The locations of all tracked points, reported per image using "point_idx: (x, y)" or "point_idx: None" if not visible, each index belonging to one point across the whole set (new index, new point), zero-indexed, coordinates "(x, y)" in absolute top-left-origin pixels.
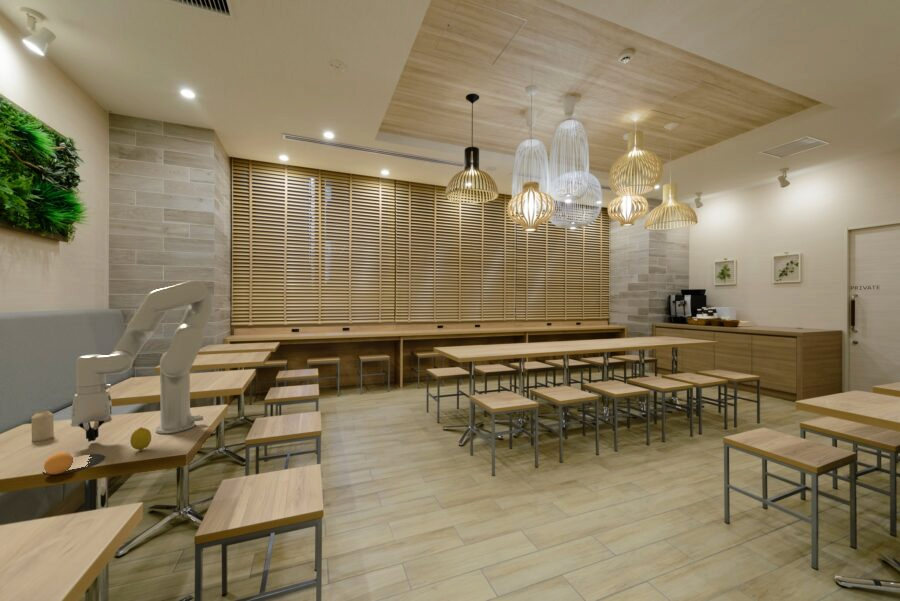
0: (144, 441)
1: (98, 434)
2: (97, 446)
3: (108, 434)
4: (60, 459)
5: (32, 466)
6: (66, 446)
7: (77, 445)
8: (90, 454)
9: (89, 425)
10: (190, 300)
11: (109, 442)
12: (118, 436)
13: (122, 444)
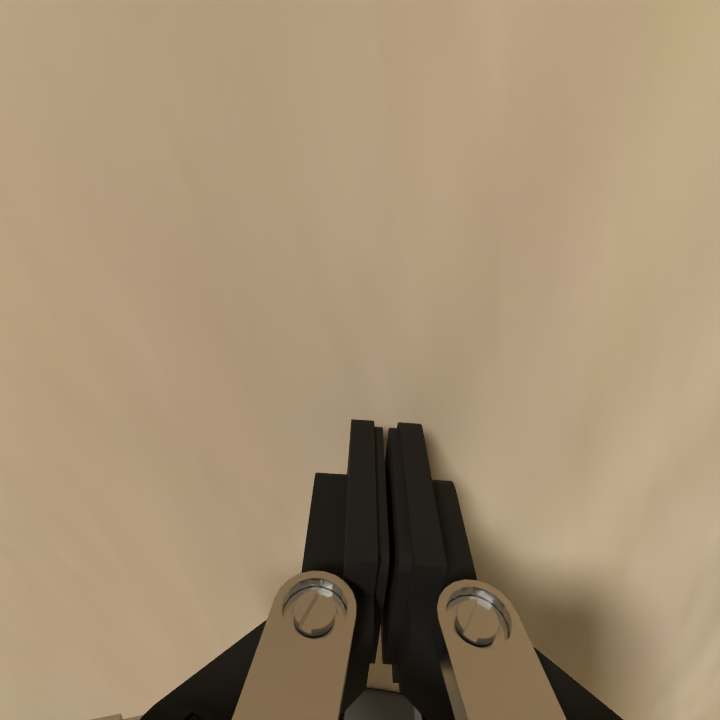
0: None
1: (455, 494)
2: None
3: (567, 69)
4: None
5: (80, 702)
6: (102, 372)
7: (225, 408)
8: (405, 706)
9: (330, 669)
10: None
11: (543, 499)
12: (668, 317)
13: (634, 613)
